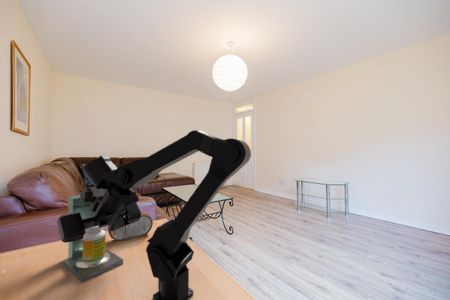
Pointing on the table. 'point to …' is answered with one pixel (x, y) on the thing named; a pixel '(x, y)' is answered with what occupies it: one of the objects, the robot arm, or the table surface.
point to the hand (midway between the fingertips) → (94, 235)
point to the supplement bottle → (94, 245)
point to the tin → (132, 229)
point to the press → (76, 249)
